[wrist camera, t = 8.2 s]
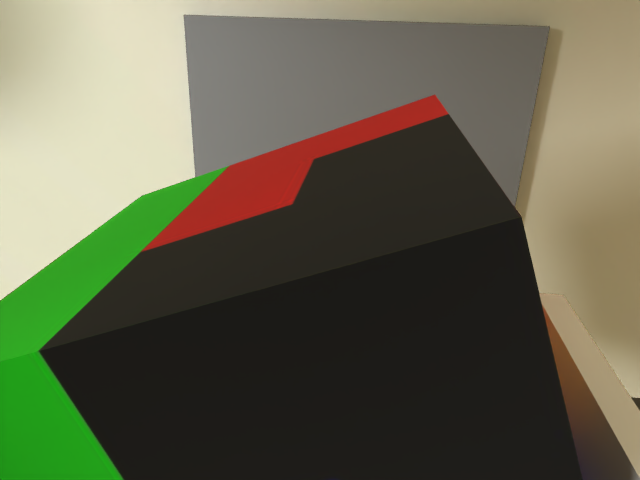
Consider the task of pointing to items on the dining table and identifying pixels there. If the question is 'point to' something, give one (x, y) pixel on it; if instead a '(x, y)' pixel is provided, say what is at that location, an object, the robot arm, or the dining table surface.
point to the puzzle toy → (294, 325)
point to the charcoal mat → (357, 82)
